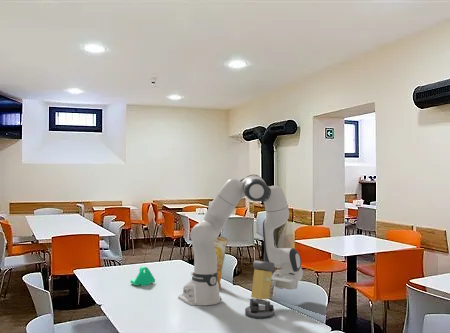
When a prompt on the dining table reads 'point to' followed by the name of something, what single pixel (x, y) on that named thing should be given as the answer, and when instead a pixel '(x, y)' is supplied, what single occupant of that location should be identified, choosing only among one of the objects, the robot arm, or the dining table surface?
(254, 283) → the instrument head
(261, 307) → the grey round mount base
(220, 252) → the pancake mix bag
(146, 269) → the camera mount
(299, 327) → the dining table surface
